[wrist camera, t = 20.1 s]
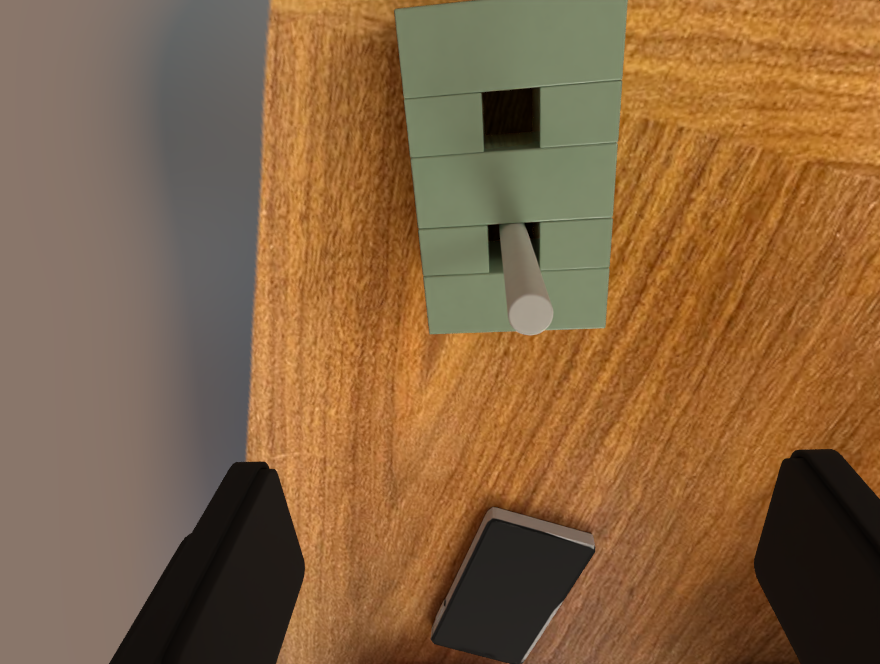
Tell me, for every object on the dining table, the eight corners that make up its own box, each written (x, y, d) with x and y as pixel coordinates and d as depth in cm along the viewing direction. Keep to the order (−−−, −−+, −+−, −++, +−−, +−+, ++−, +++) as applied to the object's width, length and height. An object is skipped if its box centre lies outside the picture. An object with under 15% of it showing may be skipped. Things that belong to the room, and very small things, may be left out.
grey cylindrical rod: (498, 230, 27) (509, 337, 14) (497, 207, 27) (506, 295, 14) (522, 229, 27) (553, 334, 14) (521, 205, 27) (553, 292, 14)
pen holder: (589, 288, 29) (605, 328, 25) (437, 295, 29) (429, 334, 26) (604, -7, 22) (629, -17, 18) (410, 14, 23) (393, 8, 19)
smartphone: (600, 547, 36) (522, 667, 43) (597, 533, 37) (521, 652, 44) (487, 516, 36) (427, 642, 43) (487, 503, 37) (428, 628, 44)
